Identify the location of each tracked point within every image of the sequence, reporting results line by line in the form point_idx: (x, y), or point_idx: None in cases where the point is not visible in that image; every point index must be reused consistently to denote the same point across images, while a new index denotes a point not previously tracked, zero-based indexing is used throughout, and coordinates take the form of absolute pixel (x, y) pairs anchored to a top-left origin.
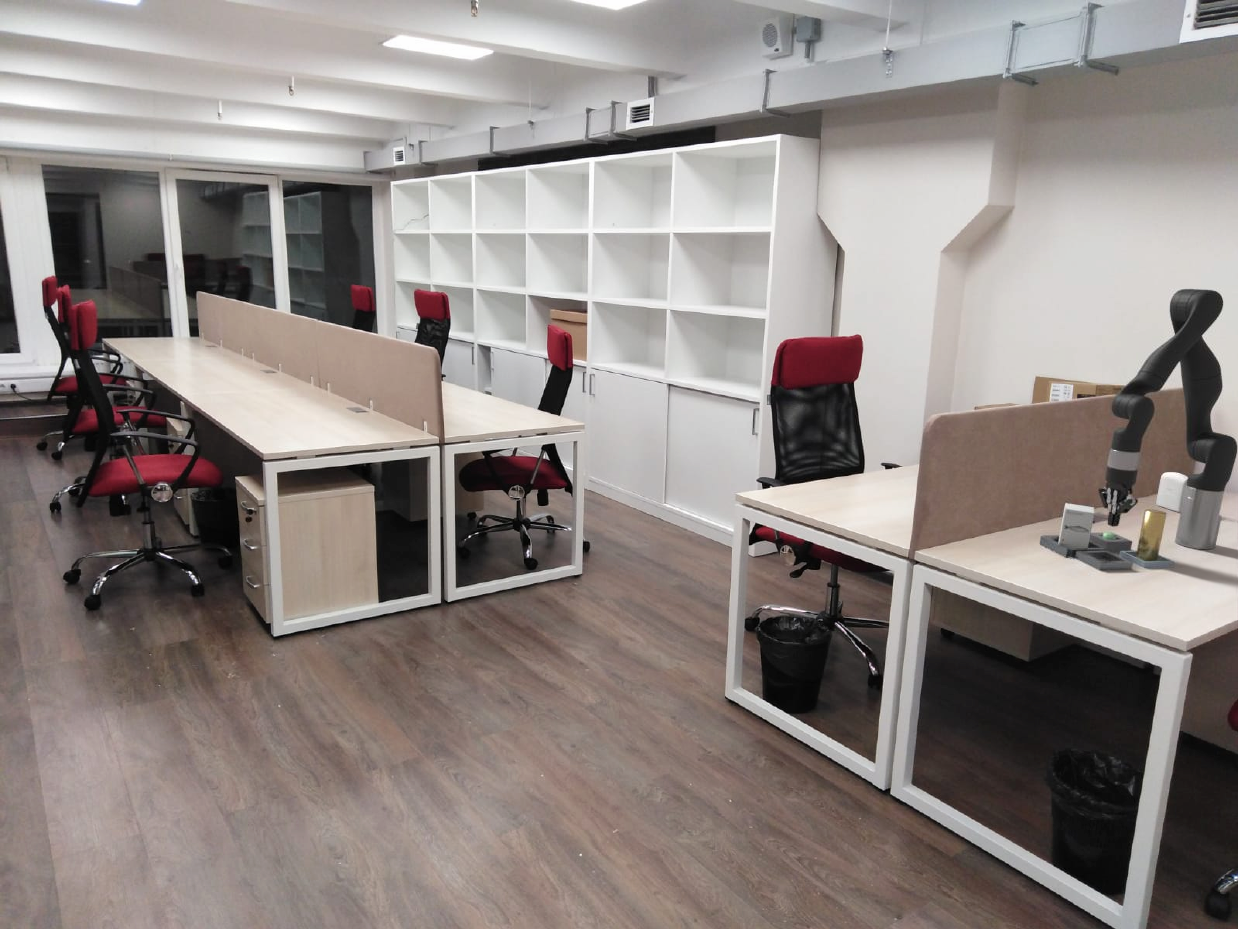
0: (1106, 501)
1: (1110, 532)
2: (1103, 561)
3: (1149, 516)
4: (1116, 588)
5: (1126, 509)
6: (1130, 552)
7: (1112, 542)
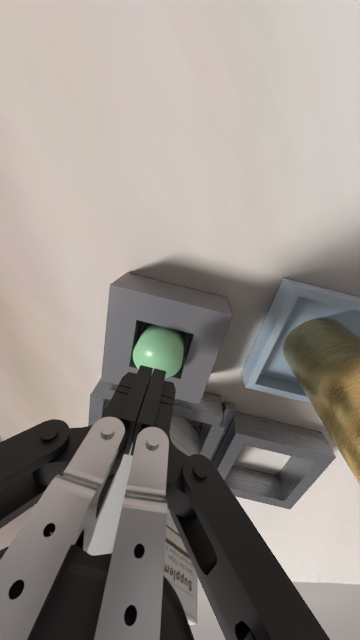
0: (20, 507)
1: (142, 340)
2: (286, 498)
3: None
4: (351, 520)
5: (211, 503)
6: (264, 360)
7: (205, 385)
